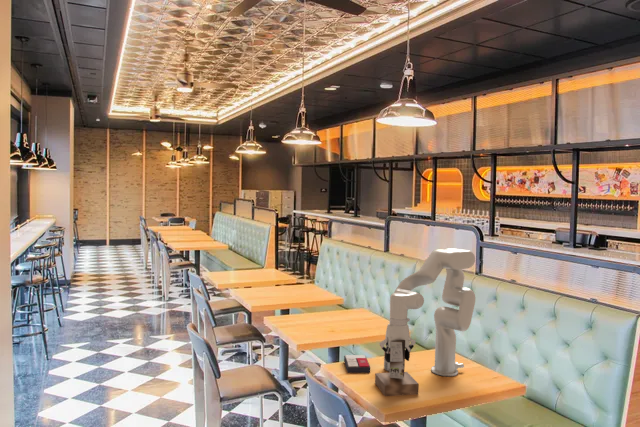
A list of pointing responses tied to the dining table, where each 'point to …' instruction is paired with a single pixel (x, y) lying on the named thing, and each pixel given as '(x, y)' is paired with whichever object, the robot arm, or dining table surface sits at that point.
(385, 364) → the beverage can
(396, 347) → the coffee box
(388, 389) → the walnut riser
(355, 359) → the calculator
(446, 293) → the robot arm
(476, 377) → the dining table surface
